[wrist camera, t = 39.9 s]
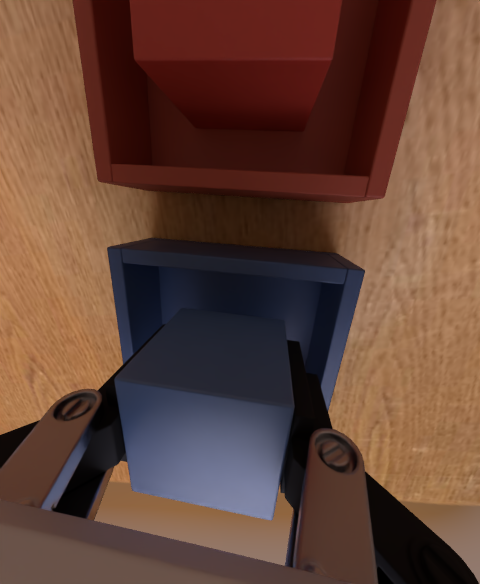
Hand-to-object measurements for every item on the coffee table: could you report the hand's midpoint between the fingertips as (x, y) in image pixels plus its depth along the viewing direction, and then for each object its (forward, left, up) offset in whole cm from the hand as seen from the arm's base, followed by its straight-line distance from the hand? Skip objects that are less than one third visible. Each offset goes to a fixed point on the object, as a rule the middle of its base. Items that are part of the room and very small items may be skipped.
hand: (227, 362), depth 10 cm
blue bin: (0, 0, -3) cm, 3 cm away
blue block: (0, 0, 0) cm, 0 cm away
